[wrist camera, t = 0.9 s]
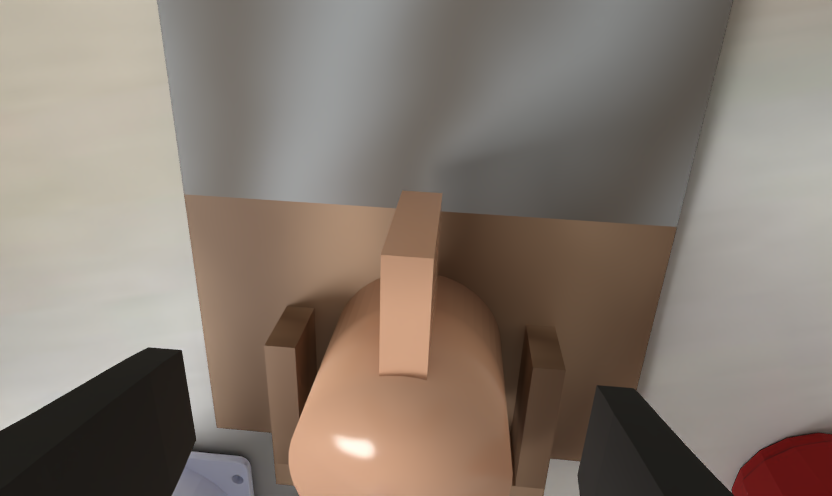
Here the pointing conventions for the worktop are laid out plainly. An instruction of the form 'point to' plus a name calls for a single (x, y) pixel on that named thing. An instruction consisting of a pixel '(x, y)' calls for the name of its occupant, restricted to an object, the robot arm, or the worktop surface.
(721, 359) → the worktop surface
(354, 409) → the capsule with rectangular tab
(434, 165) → the cradle
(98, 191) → the worktop surface
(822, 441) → the plastic cup
